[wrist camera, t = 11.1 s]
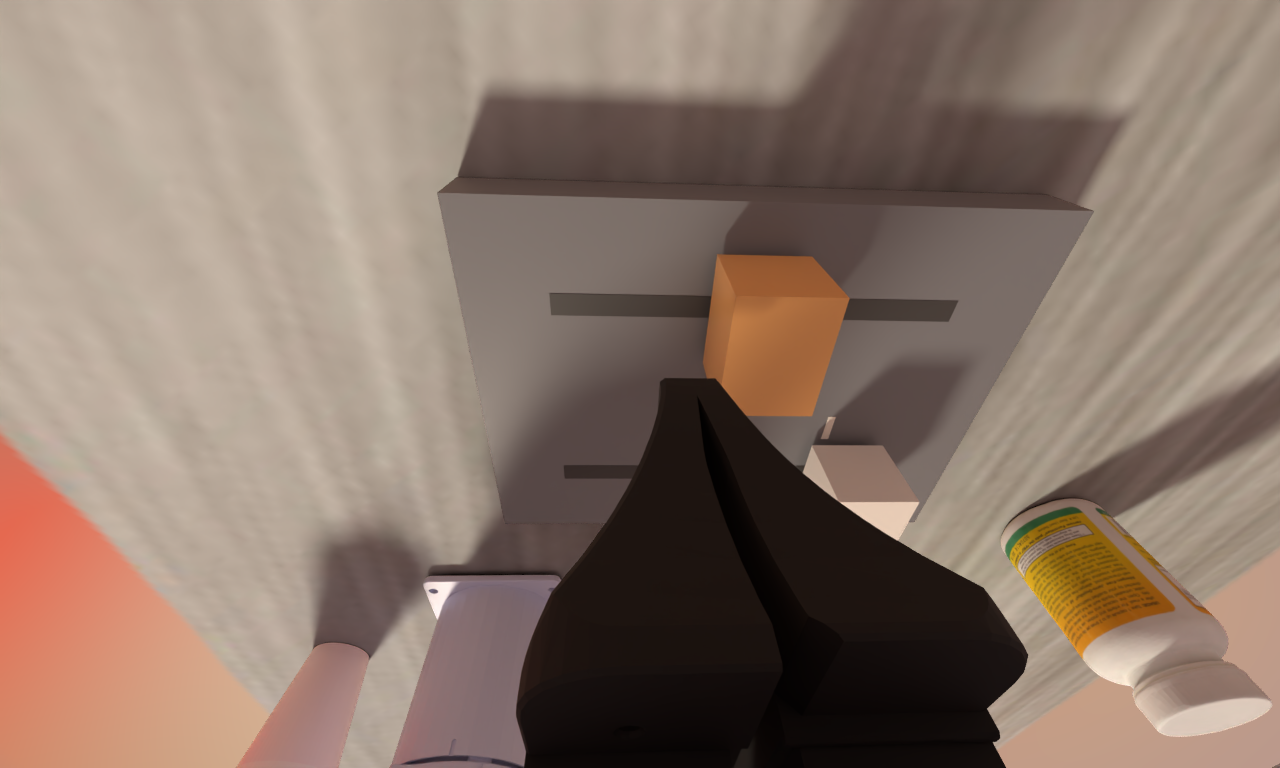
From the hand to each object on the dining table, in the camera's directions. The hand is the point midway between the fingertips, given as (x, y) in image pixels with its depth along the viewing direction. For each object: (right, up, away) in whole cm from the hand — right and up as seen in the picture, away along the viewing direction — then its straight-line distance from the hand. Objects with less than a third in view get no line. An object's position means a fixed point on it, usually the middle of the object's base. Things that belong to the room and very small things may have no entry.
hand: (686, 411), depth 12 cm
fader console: (+3, +1, +9) cm, 9 cm away
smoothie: (-22, -18, +22) cm, 36 cm away
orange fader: (+3, +3, +4) cm, 6 cm away
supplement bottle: (+22, -7, +16) cm, 28 cm away
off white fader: (+7, -4, +9) cm, 12 cm away
